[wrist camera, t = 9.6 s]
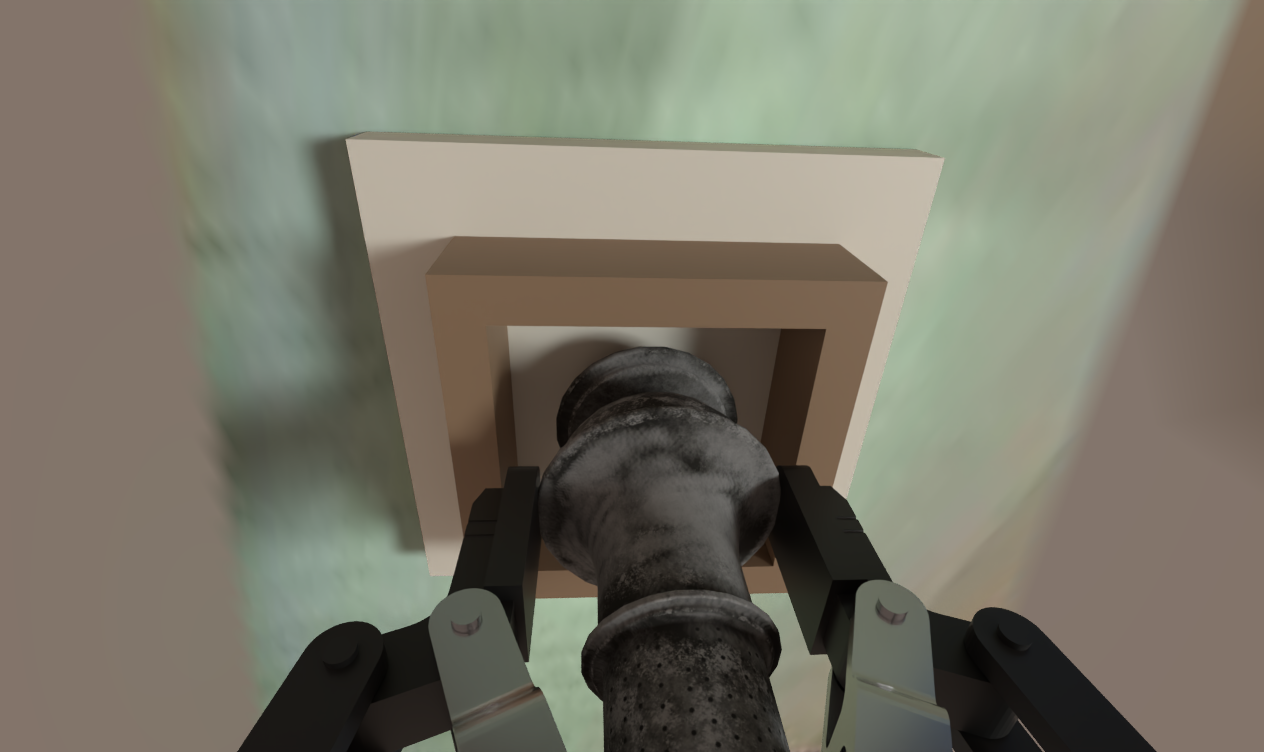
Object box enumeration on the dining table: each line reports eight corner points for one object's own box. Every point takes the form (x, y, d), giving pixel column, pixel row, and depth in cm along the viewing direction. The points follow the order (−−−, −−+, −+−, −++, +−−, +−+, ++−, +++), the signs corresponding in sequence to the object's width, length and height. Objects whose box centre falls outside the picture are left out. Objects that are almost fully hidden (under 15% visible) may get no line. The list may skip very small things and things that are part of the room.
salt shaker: (528, 348, 15) (393, 995, 5) (747, 324, 15) (1083, 912, 5) (562, 512, 18) (522, 1133, 8) (746, 492, 18) (953, 1082, 8)
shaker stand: (366, 131, 15) (287, 159, 11) (916, 149, 16) (1020, 180, 12) (439, 545, 22) (406, 649, 18) (813, 539, 23) (857, 637, 20)
